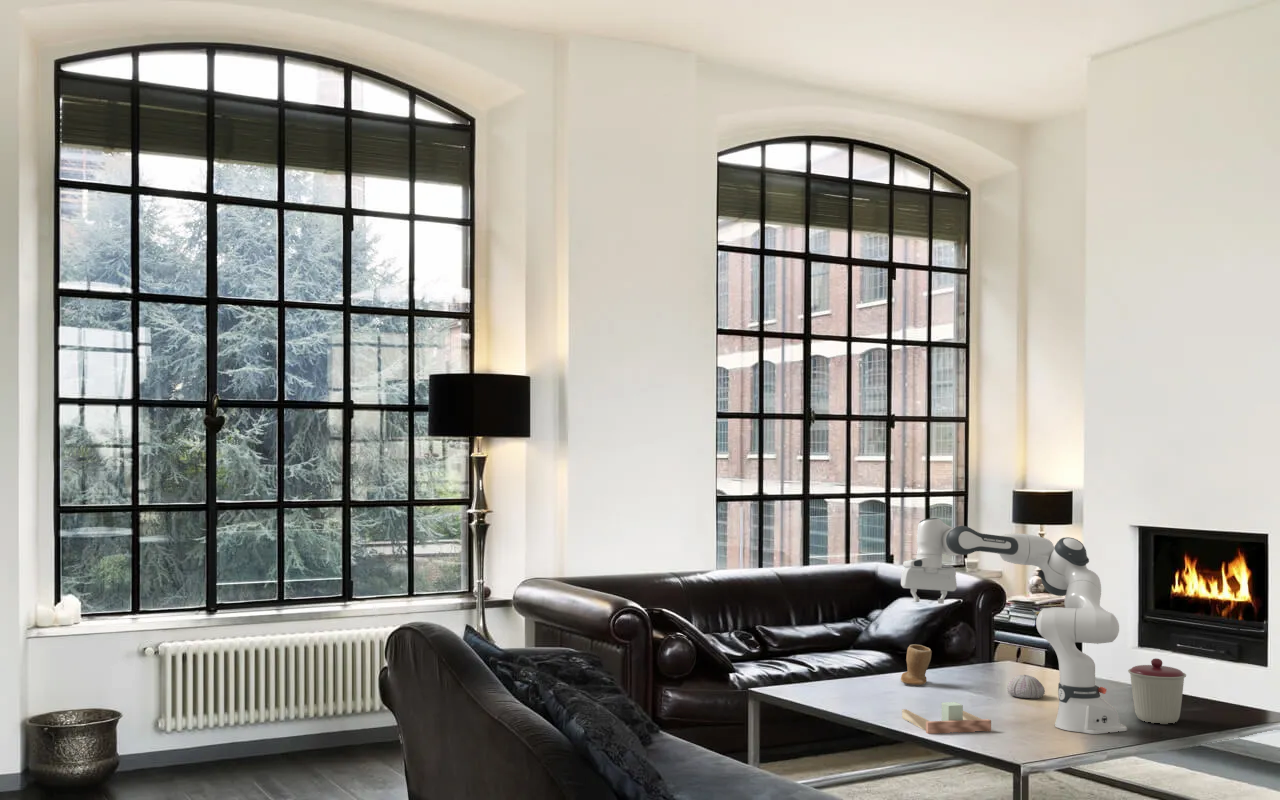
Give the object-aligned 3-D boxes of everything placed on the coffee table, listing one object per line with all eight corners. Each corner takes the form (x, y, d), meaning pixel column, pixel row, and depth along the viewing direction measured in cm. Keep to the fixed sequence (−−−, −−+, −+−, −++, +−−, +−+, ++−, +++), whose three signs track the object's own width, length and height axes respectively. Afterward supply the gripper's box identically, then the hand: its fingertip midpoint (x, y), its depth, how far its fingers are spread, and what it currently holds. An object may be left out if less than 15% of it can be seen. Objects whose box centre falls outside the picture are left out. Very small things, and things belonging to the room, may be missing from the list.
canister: (1120, 714, 408) (1120, 653, 409) (1174, 716, 407) (1173, 654, 408) (1139, 726, 390) (1139, 662, 391) (1195, 728, 389) (1195, 663, 390)
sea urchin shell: (1005, 692, 446) (1005, 671, 446) (1042, 694, 443) (1042, 672, 443) (1008, 699, 433) (1008, 677, 433) (1047, 701, 430) (1047, 679, 430)
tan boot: (930, 688, 452) (930, 648, 453) (899, 686, 455) (899, 646, 456) (932, 681, 466) (932, 643, 467) (902, 679, 470) (902, 641, 471)
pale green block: (955, 726, 387) (955, 702, 387) (962, 730, 382) (962, 705, 382) (941, 727, 386) (941, 702, 386) (948, 730, 381) (948, 705, 381)
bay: (959, 716, 402) (959, 706, 402) (991, 731, 380) (991, 720, 381) (899, 718, 398) (899, 708, 398) (927, 733, 376) (927, 722, 376)
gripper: (951, 565, 424) (951, 604, 421) (899, 561, 419) (898, 601, 417) (960, 565, 418) (959, 604, 415) (907, 561, 413) (906, 601, 411)
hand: (928, 602), depth 416 cm, fingers open, 8 cm apart
